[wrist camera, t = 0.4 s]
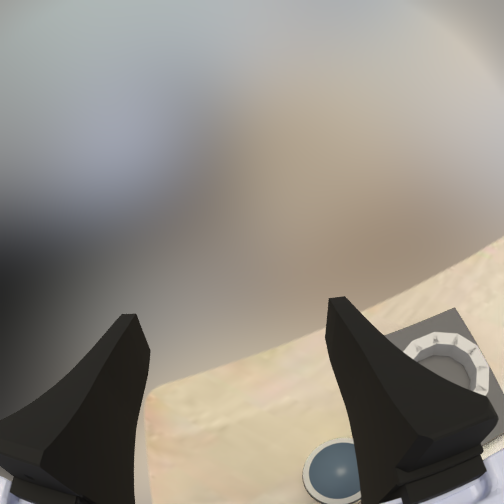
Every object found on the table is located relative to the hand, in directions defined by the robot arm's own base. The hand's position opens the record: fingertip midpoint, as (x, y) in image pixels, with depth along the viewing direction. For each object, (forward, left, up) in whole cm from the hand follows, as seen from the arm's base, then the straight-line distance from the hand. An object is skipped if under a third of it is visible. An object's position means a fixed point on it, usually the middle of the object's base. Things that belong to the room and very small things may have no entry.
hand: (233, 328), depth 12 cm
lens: (-4, -2, -19) cm, 20 cm away
